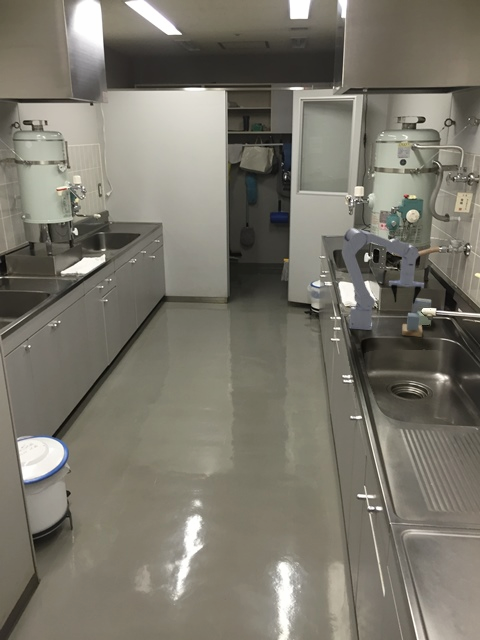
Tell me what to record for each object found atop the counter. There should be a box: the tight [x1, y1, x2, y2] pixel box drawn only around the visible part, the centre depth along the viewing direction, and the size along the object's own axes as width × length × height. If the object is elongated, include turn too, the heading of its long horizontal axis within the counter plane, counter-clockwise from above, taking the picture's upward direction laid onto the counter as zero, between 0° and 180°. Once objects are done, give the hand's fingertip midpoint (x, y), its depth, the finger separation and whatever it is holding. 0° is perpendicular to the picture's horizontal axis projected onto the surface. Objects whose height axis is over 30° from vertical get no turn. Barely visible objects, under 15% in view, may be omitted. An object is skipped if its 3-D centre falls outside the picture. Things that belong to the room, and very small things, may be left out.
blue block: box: [406, 312, 419, 331], centre depth 223 cm, size 4×4×6 cm
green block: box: [417, 311, 432, 325], centre depth 233 cm, size 5×6×5 cm
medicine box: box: [410, 297, 432, 314], centre depth 239 cm, size 8×4×9 cm, turn 65°
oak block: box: [401, 323, 423, 338], centre depth 224 cm, size 8×8×2 cm
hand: (404, 302), depth 230 cm, fingers open, 7 cm apart
